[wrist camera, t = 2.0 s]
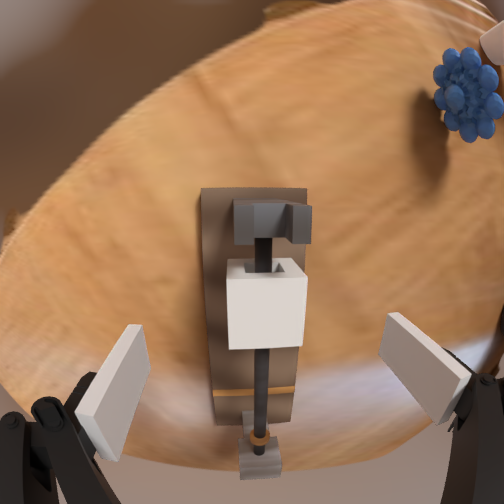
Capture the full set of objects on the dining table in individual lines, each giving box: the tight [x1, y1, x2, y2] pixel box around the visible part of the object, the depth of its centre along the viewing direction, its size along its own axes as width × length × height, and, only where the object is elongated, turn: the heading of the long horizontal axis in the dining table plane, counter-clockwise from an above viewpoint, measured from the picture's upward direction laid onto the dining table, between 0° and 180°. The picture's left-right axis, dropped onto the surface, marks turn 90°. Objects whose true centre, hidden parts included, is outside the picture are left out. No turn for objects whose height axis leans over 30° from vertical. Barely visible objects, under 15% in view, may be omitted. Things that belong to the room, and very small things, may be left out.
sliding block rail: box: [201, 188, 312, 480], centre depth 23 cm, size 30×10×14 cm, turn 0°
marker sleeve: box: [226, 258, 308, 349], centre depth 20 cm, size 5×5×5 cm
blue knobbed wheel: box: [433, 47, 504, 143], centre depth 20 cm, size 12×7×12 cm, turn 24°
